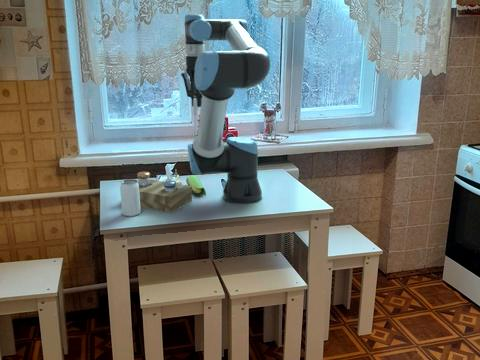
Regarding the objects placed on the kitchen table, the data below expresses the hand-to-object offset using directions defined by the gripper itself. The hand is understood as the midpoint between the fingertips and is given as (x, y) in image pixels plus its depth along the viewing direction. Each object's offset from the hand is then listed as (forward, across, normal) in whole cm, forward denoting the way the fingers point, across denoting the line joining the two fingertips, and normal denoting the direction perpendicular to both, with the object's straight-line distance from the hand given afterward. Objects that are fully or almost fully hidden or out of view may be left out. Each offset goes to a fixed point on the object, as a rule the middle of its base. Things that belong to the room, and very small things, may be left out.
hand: (197, 114), depth 208 cm
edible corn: (+30, +5, -10) cm, 32 cm away
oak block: (+29, -1, -28) cm, 41 cm away
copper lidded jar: (+27, -7, -28) cm, 39 cm away
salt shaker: (+29, +5, -28) cm, 41 cm away
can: (+30, -2, -42) cm, 52 cm away
